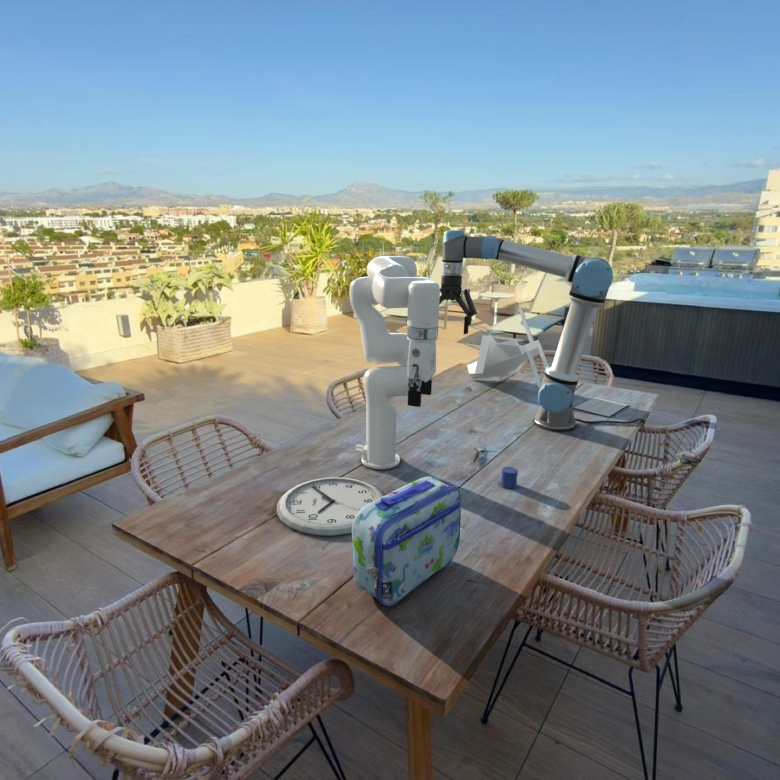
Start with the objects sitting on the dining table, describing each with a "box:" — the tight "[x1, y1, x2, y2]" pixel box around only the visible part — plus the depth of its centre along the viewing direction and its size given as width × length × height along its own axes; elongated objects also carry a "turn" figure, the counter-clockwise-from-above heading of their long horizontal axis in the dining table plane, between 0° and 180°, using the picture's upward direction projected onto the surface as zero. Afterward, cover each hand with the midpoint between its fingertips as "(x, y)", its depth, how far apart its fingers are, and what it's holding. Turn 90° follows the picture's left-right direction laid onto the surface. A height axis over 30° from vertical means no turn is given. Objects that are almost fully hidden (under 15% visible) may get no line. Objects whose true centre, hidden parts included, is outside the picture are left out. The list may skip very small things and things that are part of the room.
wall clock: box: [276, 476, 385, 537], centre depth 142 cm, size 30×2×30 cm
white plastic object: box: [466, 308, 549, 390], centre depth 255 cm, size 37×45×31 cm
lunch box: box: [351, 476, 462, 607], centre depth 111 cm, size 26×11×21 cm, turn 135°
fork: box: [473, 440, 487, 463], centre depth 176 cm, size 3×16×2 cm, turn 160°
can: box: [500, 466, 519, 489], centre depth 155 cm, size 4×4×5 cm
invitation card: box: [573, 396, 629, 418], centre depth 226 cm, size 21×1×15 cm
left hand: (419, 399), depth 132 cm, fingers open, 9 cm apart
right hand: (448, 331), depth 197 cm, fingers open, 13 cm apart
